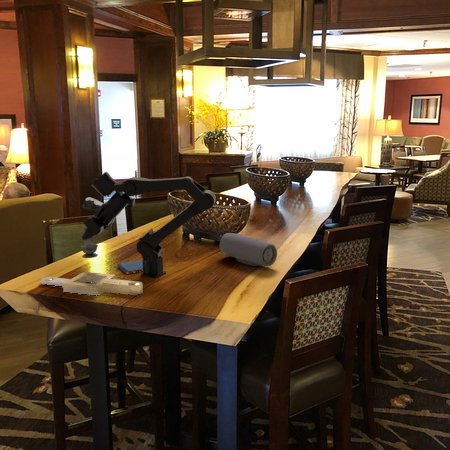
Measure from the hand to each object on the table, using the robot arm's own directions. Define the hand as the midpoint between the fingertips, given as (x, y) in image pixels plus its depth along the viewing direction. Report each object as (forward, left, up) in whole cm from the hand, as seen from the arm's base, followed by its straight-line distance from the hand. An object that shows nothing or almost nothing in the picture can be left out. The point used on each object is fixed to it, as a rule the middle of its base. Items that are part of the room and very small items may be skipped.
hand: (84, 237), depth 170 cm
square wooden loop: (-18, +9, -13) cm, 24 cm away
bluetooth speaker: (-43, -39, -13) cm, 60 cm away
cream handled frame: (-6, +12, -13) cm, 19 cm away
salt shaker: (-1, -1, -7) cm, 7 cm away
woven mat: (-11, -13, -14) cm, 22 cm away
